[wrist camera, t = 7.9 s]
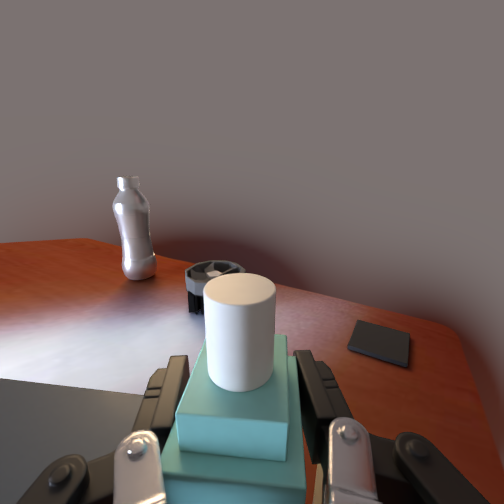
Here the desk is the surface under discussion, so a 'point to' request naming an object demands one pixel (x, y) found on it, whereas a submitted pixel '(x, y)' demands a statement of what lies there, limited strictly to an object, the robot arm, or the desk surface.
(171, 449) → the soap bottle
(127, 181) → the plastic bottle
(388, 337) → the mat
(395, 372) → the desk surface
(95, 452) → the cabinet
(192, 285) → the cpu cooler
